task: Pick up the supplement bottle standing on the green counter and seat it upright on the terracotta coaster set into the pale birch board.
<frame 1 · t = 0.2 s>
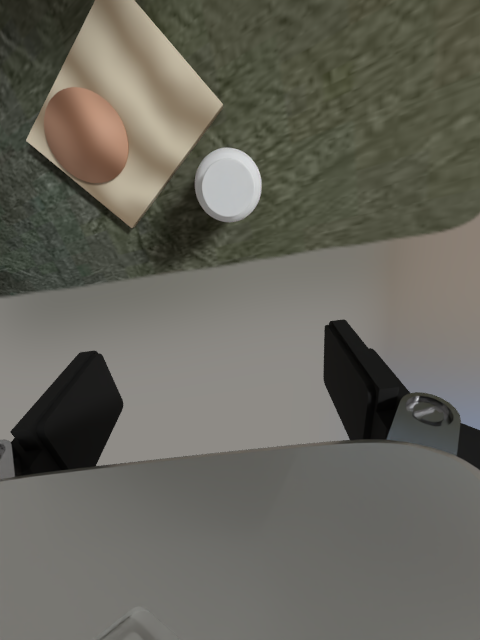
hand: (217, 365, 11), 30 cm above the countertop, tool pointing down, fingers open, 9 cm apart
seat board: (127, 124, 31), on the countertop
supplement bottle: (228, 184, 35), on the countertop
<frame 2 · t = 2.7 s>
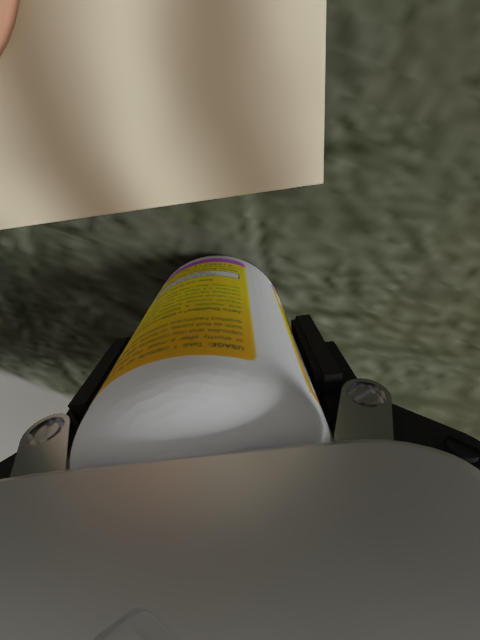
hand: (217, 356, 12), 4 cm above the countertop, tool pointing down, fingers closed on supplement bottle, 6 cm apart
supplement bottle: (220, 309, 15), on the countertop, touching gripper
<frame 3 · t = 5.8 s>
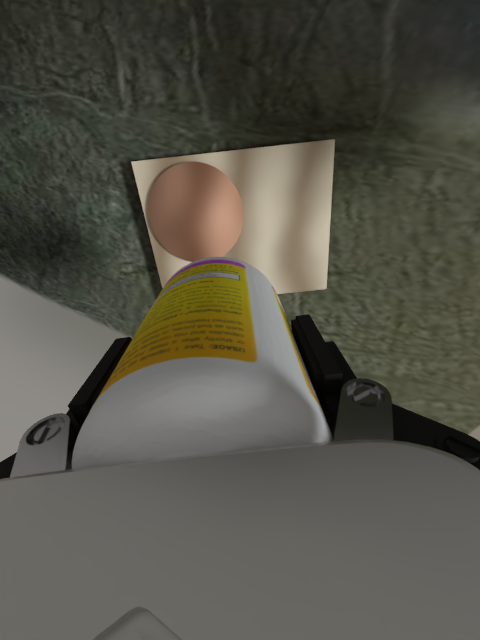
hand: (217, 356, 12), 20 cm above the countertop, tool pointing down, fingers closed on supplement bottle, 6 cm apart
seat board: (239, 230, 28), on the countertop
supplement bottle: (221, 310, 15), point 15 cm above the countertop, touching gripper
when the fingers open (8 cm above the countertop, at t = 9.0 s): supplement bottle drops 2 cm, resting on seat board.
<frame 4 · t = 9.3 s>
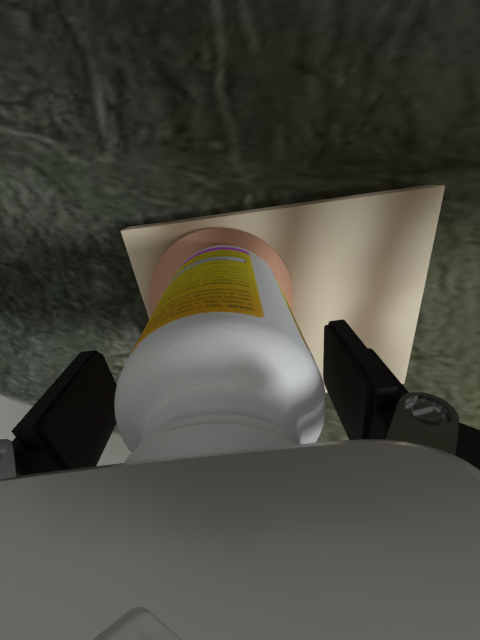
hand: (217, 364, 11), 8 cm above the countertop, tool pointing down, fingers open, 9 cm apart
seat board: (281, 310, 19), on the countertop
supplement bottle: (225, 295, 17), point 2 cm above the countertop, touching seat board
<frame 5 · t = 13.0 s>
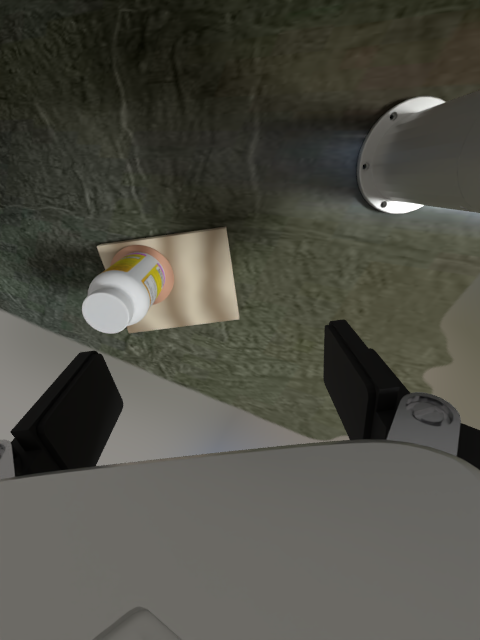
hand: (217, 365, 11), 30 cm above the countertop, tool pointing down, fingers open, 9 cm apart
seat board: (175, 282, 41), on the countertop
supplement bottle: (143, 273, 39), point 2 cm above the countertop, touching seat board
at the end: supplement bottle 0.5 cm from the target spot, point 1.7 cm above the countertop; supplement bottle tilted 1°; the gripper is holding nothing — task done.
